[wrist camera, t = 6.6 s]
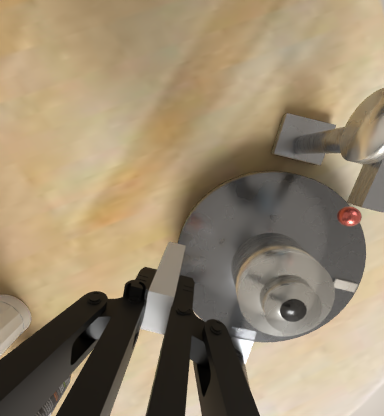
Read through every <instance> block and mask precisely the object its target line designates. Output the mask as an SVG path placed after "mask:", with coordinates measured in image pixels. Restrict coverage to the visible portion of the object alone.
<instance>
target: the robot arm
mask: <svg viewBox="0 0 384 416" xmlns="http://www.w3.org/2000/svg"><path fill="white" fill-rule="evenodd" d="M185 247H186V246H185V245H181V244H177V243H173V242H168V245H167V247H166V249H165V252H164V254H163V257H162V259H161V262H160V264H159V266H158V269H157V270H156V269H152V268H148V267H144V268H143V269H141V270H140V272H139V274H138V276H137V277H136V279H135V280H131V281H128V282H127V283H126V284H125V288H124V294H123V297H122V298H118V299H108V298H107V296H106V294H104V293H103V292H99V291H94V292H90V293H87V294H86V295H84V296H83V297H81V298H80V299H79V300H78V301H76V302H75V303H74V304H72V305H71V306H70V307H68V308H67V309H66V310H65V311H63V312H62V313H61V314H59V315H58V316H57V317H55V318H54V319H53V320H52V321H50V322H49V323H48V324H46V325H45V326H44V327H42V328H41V329H40V330H38V331H37V332H36V333H35V334H33V335H32V336H31V337H29V338H28V339H27V340H25V341H24V342H23V343H22V344H20V345H19V346H18V347H16V348H15V349H14V350H12V351H11V352H10V353H8V354H7V355H6V356H5V357H3V358H2V359H1V360H0V416H34V415H35V414H36V413H37V412H38V411H39V410H40V409H41V407H42V406H43V405H44V404H45V403H46V402H47V401H48V400H49V398H50V397H51V396H52V395H53V394H54V393H55V392H56V391H57V389H58V388H59V387H60V386H61V385H62V384H63V383H64V381H65V380H66V379H67V378H68V377H69V376H70V375H71V374H72V372H73V371H74V370H75V369H76V368H77V367H78V366H79V364H80V363H81V362H82V361H83V360H84V359H85V358H86V357H87V355H88V354H89V353H90V352H91V351H92V350H93V351H92V352H91V354H90V356H89V358H88V360H87V361H86V363H85V365H84V367H83V368H82V370H81V372H80V374H79V375H78V377H77V379H76V381H75V383H74V384H73V386H72V388H71V390H70V391H69V393H68V395H67V397H66V399H65V400H64V402H63V404H62V406H61V407H60V409H59V411H58V413H57V415H56V416H110V413H111V410H112V408H113V405H114V402H115V399H116V397H117V394H118V391H119V388H120V385H121V383H122V380H123V377H124V374H125V372H126V369H127V366H128V363H129V361H130V358H131V355H132V352H133V350H134V347H135V344H136V341H137V339H138V335H139V330H140V327H141V329H143V330H147V331H151V332H156V333H160V334H164V339H163V343H162V347H161V351H160V356H159V360H158V365H157V369H156V373H155V378H154V382H153V386H152V390H151V395H150V399H149V403H148V408H147V412H146V416H185V408H186V396H187V384H188V372H189V361H190V359H191V360H192V361H193V365H194V371H195V377H196V383H197V389H198V395H199V401H200V406H201V412H202V416H260V415H259V412H258V409H257V407H256V404H255V401H254V399H253V396H252V393H251V391H250V388H249V385H248V383H247V380H246V377H245V375H244V372H243V369H242V367H241V364H240V361H239V359H238V356H237V353H236V351H235V348H234V345H233V343H232V340H231V338H230V335H229V332H228V330H227V328H226V326H225V325H224V324H223V323H222V322H220V321H219V320H216V319H209V320H207V321H206V322H204V321H203V320H201V319H199V318H198V317H197V316H196V315H195V314H194V312H193V297H194V286H195V282H194V280H193V278H191V277H187V276H182V275H179V274H180V270H181V265H182V261H183V256H184V251H185Z"/></svg>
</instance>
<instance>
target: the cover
mask: <svg viewBox="0 0 384 416" xmlns="http://www.w3.org/2000/svg"><path fill="white" fill-rule="evenodd" d="M231 271H232V276H233V281H234V285H235V290H236V294H237V298H238V303H239V307H240V310H241V312H242V314H243V316H244V318H245V319H246V320H247V321H248V322H249V323H250V324H251V325H252V326H253V327H254V328H256V329H257V330H259V331H261V332H263V333H266V334H269V335H274V336H294V335H299V334H302V333H305V332H307V331H309V330H311V329H313V328H315V327H316V326H317V325H319V324H320V323H321V322H322V321H323V320H324V319H325V318H326V317H327V315H328V314H329V312H330V311H331V308H332V306H333V303H334V299H335V287H334V283H333V280H332V278H331V276H330V274H329V273H328V272H327V270H326V269H325V268H324V267H323V266H322V265H321V264H320V263H319V262H317V261H316V260H315V259H314V258H313V257H312V256H311V255H310V254H309V253H308V252H307V251H306V250H305V249H304V248H303V247H302V246H300V245H299V244H298V243H297V242H296V241H295V240H293V239H292V238H290V237H288V236H286V235H283V234H279V233H264V234H259V235H256V236H254V237H252V238H250V239H248V240H247V241H245V242H244V243H243V244H242V245H241V246H240V247H239V248H238V250H237V251H236V253H235V255H234V257H233V260H232V266H231Z"/></svg>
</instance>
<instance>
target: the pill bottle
mask: <svg viewBox="0 0 384 416" xmlns="http://www.w3.org/2000/svg"><path fill="white" fill-rule="evenodd" d="M69 383H70V376H69V377H68V378H67V379H66V380H65V381H64V383H63V384H62V385H61V386H60V387H59V388H58V389H57V391H56V392H55V393H54V394H53V395H52V396H51V397H50V398H49V400H48V401H47V402H46V403H45V404H44V405H43V406H42V407H41V409H40V410H39V411H38V412H37V413H36V414H35V415H34V416H50V415H51V414H52V412H53V410H54V408H55V407H56V405H57V403H58V402H59V400H60V398H61V397H62V395H63V393H64V391H65V390H66V388H67V386H68V385H69Z"/></svg>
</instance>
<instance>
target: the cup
mask: <svg viewBox="0 0 384 416" xmlns="http://www.w3.org/2000/svg"><path fill="white" fill-rule="evenodd" d="M30 323H31V314H30V311H29V309H28V307H27V306H26V305H25V304H24V303H23V302H22V301H21V300H19V299H18V298H16V297H14V296H11V295H0V356H1V355H2V354H3V353H4V352H5V351H6V350H7V349H8V347H9V346H10V345H11V344H12V343H13V342H14V341H15V340H16V339H17V338H18V336H20V335H21V334H22V333H23V332H24V331H25V330H26V329H27V328H28V327H29V325H30Z"/></svg>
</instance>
